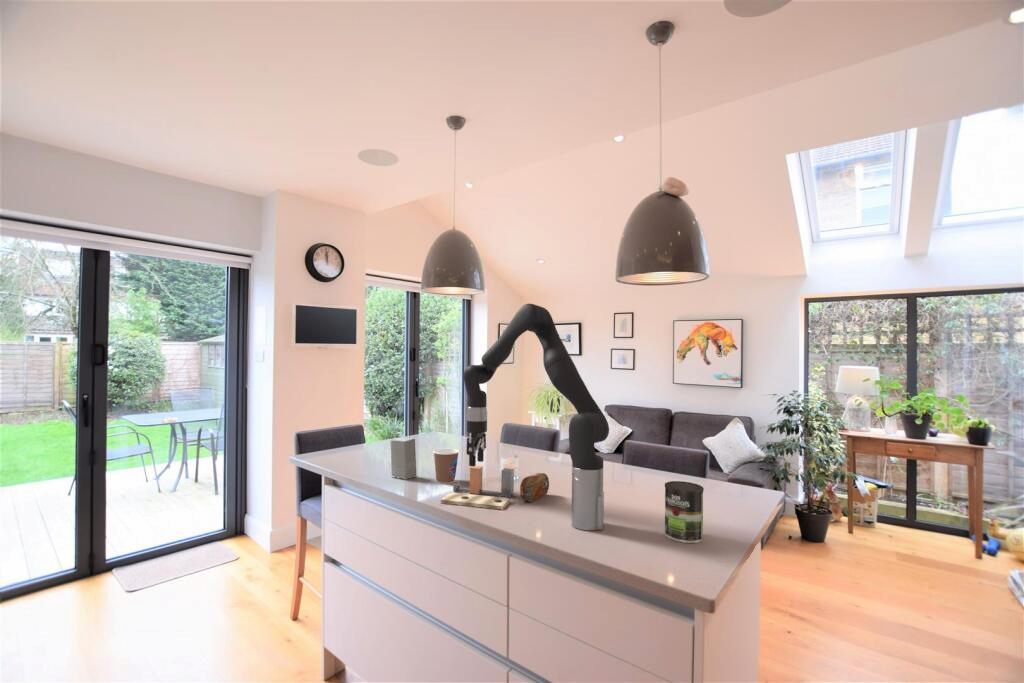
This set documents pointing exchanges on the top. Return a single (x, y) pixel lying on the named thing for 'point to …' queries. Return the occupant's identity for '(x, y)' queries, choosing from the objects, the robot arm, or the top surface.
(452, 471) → the coffee cup
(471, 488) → the block
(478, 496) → the hole board
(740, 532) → the top surface
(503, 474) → the dividers rail
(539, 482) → the brown rounded flat piece
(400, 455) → the skincare box
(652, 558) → the top surface
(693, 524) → the coffee can
